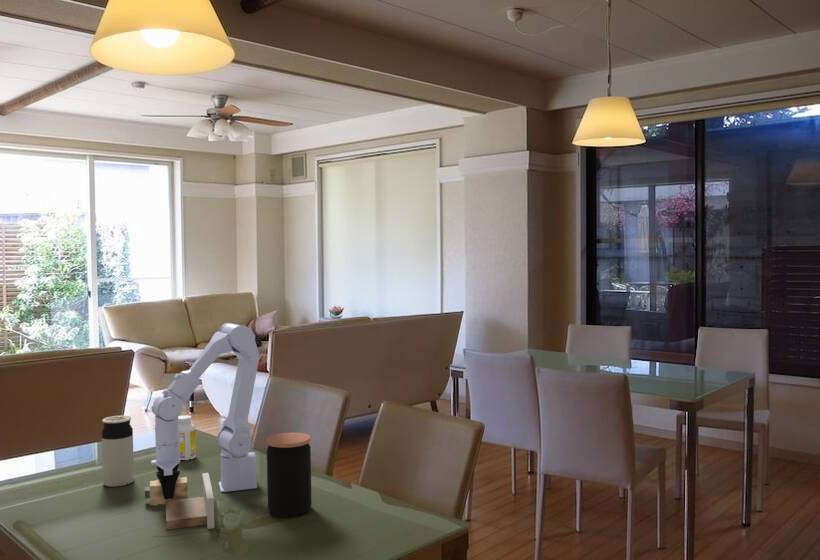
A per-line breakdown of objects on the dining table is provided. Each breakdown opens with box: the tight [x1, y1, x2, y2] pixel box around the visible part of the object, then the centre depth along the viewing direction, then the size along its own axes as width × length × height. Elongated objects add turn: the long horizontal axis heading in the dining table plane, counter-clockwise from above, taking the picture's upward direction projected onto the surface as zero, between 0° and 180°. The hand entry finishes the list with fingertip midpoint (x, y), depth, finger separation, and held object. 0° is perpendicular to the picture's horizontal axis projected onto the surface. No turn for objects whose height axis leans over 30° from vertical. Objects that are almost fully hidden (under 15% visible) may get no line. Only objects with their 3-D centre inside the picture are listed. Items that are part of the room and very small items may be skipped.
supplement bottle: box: [178, 415, 197, 461], centre depth 221 cm, size 7×7×13 cm
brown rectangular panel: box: [165, 496, 207, 531], centre depth 173 cm, size 9×14×2 cm, turn 19°
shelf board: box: [201, 472, 215, 530], centre depth 174 cm, size 2×20×7 cm, turn 19°
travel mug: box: [101, 415, 135, 488], centre depth 198 cm, size 8×8×18 cm
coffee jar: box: [266, 432, 312, 519], centre depth 176 cm, size 11×11×18 cm
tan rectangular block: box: [144, 476, 189, 507], centre depth 183 cm, size 10×4×5 cm, turn 109°
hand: (168, 495), depth 184 cm, fingers closed on tan rectangular block, 4 cm apart
